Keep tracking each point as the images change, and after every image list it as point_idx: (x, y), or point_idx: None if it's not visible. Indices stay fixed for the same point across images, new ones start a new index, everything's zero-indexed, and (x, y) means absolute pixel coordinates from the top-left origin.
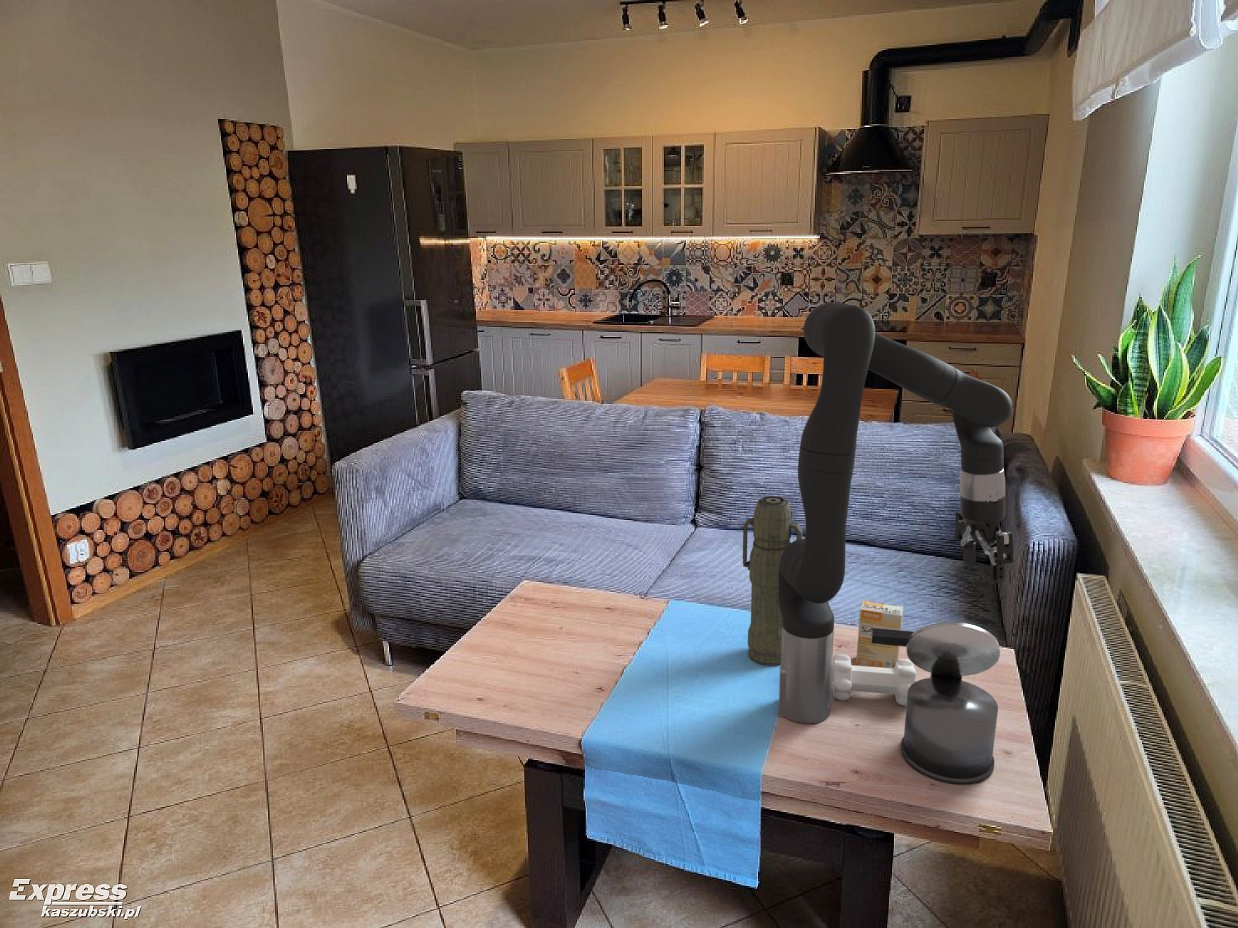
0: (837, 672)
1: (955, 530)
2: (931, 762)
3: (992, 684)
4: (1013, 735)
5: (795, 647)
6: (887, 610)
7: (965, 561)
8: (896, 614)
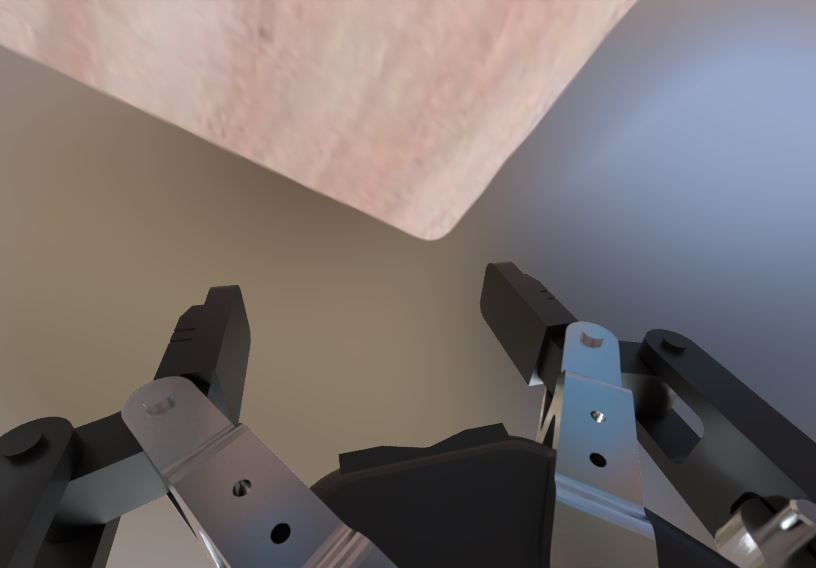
0: None
1: (735, 380)
2: None
3: (323, 155)
4: (77, 60)
5: None
6: None
7: (500, 271)
8: None
